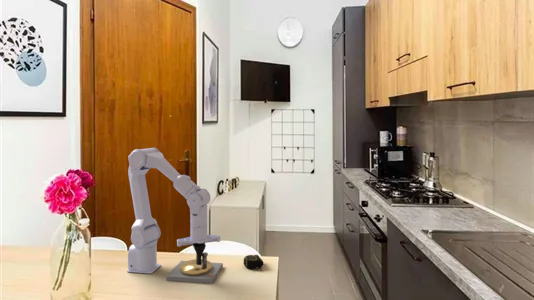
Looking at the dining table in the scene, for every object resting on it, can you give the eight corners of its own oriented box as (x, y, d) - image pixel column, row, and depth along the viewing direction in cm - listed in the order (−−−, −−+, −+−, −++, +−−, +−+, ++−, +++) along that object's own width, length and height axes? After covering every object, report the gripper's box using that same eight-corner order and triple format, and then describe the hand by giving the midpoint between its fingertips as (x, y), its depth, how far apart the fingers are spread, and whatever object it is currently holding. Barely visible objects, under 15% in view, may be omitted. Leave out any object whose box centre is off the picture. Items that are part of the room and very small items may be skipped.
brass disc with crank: (173, 270, 127) (173, 251, 126) (197, 260, 135) (197, 243, 135) (194, 278, 120) (194, 258, 119) (218, 268, 128) (218, 249, 128)
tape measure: (264, 269, 132) (264, 259, 132) (246, 271, 130) (246, 261, 130) (258, 262, 139) (259, 253, 138) (241, 264, 137) (241, 255, 136)
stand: (166, 280, 122) (166, 275, 122) (181, 264, 136) (181, 260, 136) (212, 283, 120) (212, 279, 120) (222, 267, 134) (222, 262, 133)
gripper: (179, 230, 116) (179, 271, 117) (222, 226, 122) (222, 265, 123) (175, 224, 123) (176, 263, 124) (217, 221, 128) (217, 258, 129)
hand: (199, 264), depth 124 cm, fingers closed
